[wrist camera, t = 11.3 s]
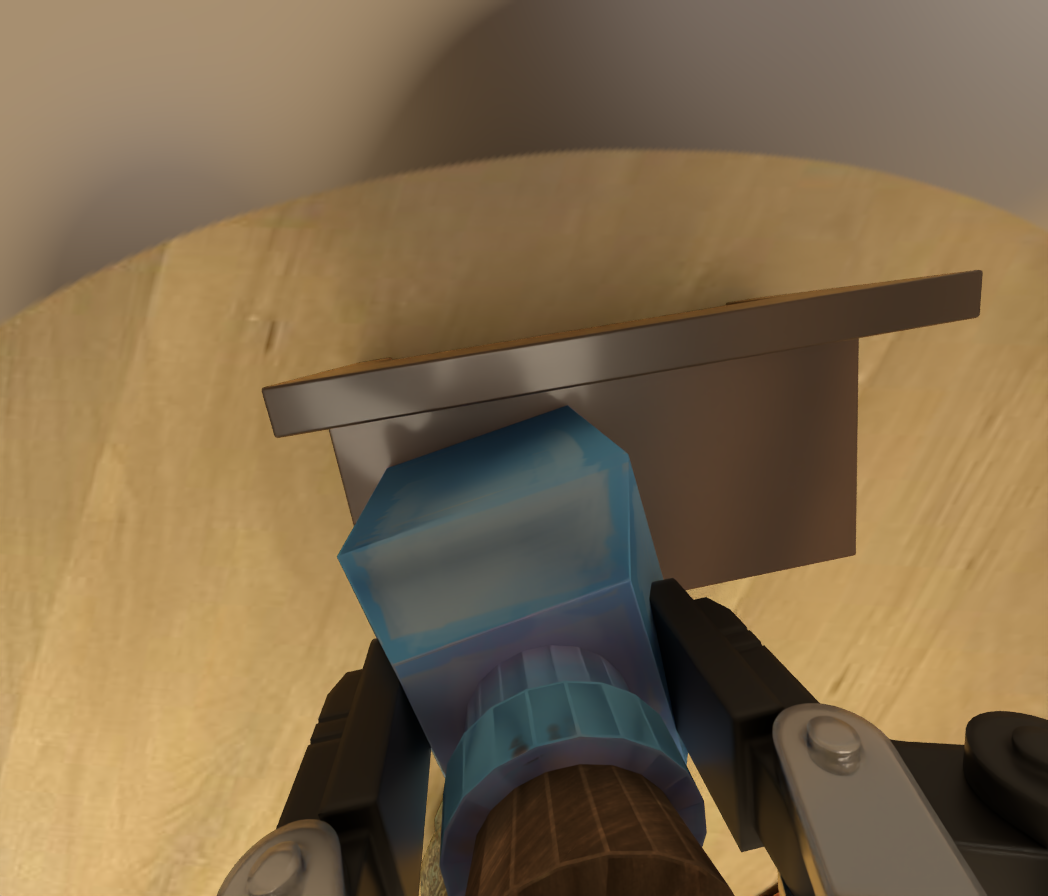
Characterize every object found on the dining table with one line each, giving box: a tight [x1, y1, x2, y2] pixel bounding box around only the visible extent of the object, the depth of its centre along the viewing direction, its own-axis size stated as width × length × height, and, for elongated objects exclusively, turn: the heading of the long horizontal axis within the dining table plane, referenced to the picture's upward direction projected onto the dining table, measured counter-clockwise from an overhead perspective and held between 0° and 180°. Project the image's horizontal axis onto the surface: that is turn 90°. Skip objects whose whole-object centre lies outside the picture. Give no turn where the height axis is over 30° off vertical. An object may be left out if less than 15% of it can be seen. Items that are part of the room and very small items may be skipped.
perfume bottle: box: [337, 405, 734, 896], centre depth 11 cm, size 6×6×12 cm
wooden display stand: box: [262, 270, 983, 590], centre depth 18 cm, size 18×10×10 cm, turn 99°
